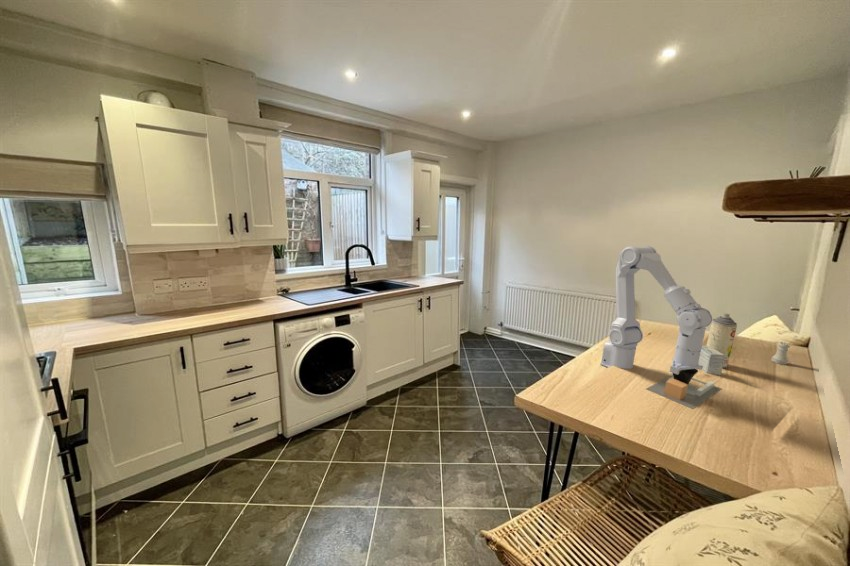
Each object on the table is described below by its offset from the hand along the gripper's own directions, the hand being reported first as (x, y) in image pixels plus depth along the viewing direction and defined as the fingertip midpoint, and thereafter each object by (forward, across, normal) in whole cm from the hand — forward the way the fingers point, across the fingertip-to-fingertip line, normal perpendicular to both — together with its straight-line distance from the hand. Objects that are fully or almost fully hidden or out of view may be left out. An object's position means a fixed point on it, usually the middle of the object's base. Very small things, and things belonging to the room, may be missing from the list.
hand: (679, 389), depth 97 cm
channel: (+2, +4, 0) cm, 5 cm away
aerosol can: (+2, +40, +3) cm, 40 cm away
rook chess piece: (+2, +64, -9) cm, 65 cm away
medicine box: (+2, +28, +2) cm, 28 cm away
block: (+1, -4, 0) cm, 4 cm away
